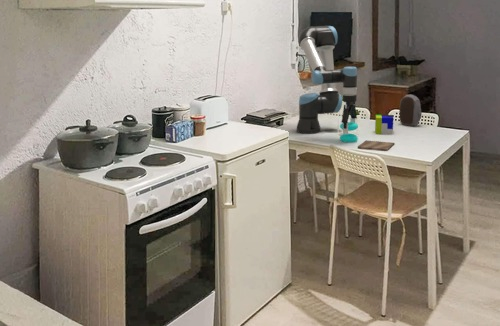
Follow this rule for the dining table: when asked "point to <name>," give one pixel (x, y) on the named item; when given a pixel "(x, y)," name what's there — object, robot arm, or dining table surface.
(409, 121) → the soft grey pack
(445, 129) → the dining table surface
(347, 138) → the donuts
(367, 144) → the walnut board
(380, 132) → the puzzle toy
